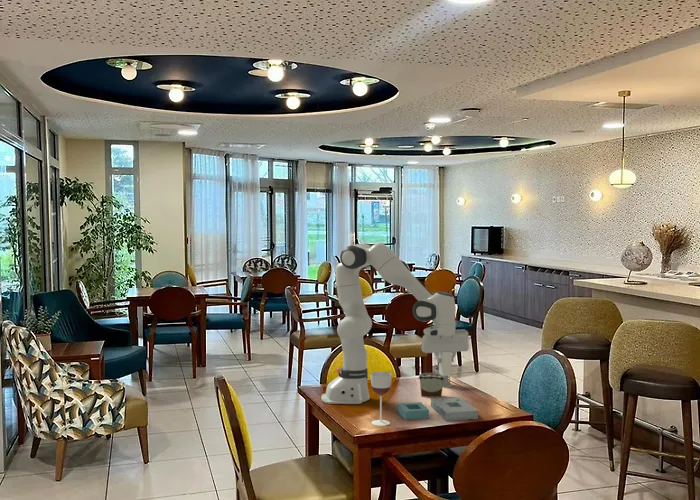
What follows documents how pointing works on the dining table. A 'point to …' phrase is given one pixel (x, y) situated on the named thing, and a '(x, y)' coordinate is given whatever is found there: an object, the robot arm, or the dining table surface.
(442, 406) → the box
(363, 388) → the robot arm
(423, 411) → the teal socket base
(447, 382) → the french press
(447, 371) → the plug
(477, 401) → the dining table surface
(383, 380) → the wineglass
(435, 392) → the food container
